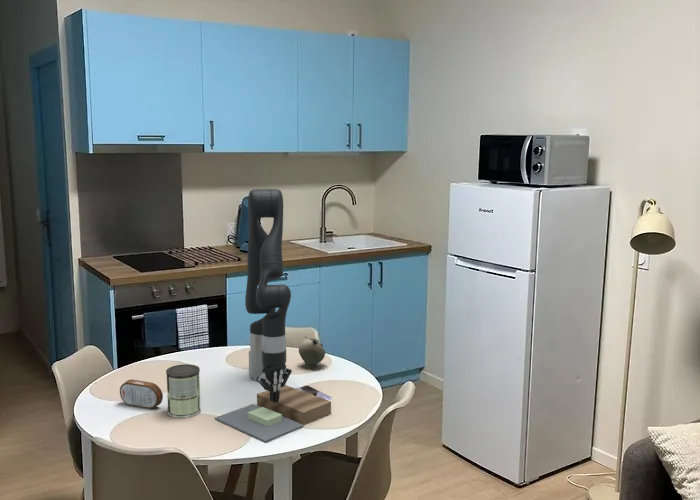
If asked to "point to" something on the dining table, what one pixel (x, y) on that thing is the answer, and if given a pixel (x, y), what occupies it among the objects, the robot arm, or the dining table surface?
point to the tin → (141, 394)
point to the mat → (257, 424)
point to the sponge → (265, 416)
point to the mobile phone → (314, 392)
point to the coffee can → (183, 390)
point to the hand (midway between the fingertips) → (274, 401)
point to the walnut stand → (296, 405)
